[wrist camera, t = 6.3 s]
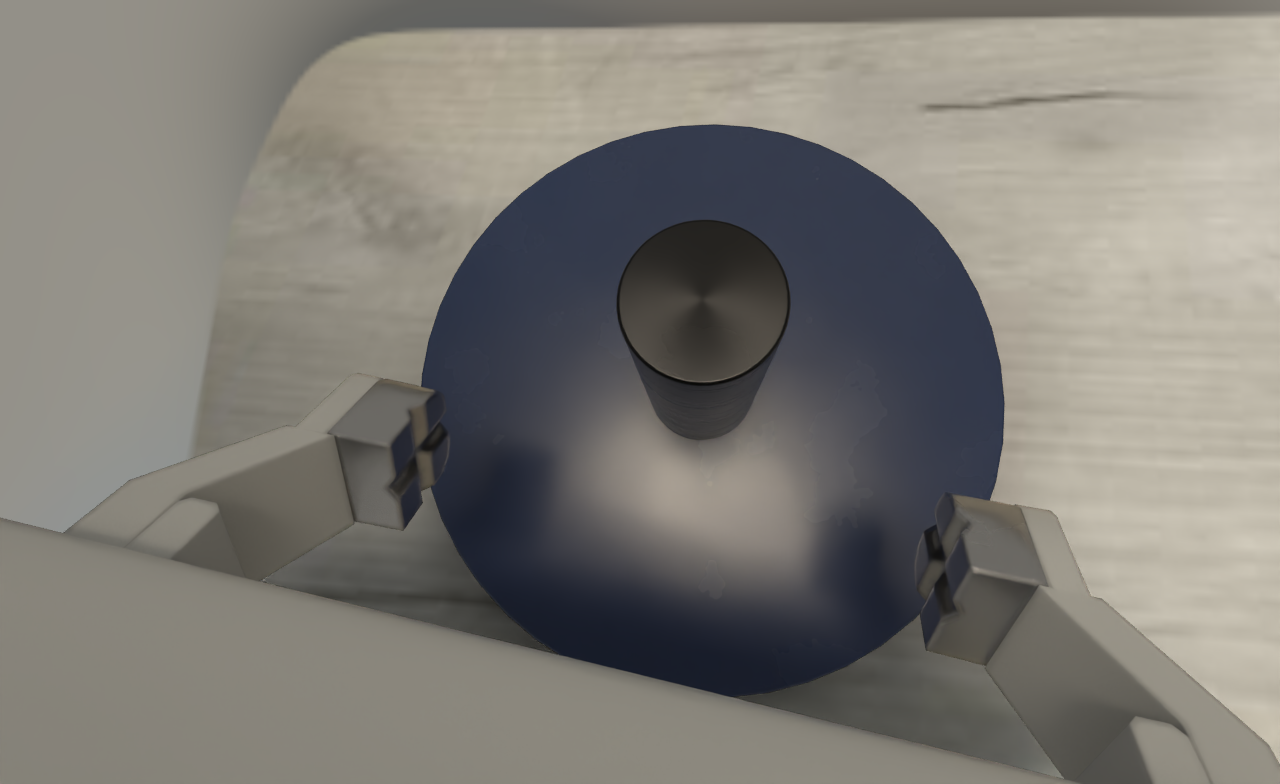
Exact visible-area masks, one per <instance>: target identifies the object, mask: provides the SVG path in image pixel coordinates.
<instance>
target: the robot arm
mask: <svg viewBox="0 0 1280 784" xmlns="http://www.w3.org/2000/svg"><path fill="white" fill-rule="evenodd" d="M445 413H446V404H445V397H444V395H443V394H442V393H441V392H440V391H439V390H434V389H430V388H425V387H421V386H417V385H412V384H408V383H403V382H399V381H394V380H390V379H383V378H379V377H374V376H370V375H365V374H360V373H357V374H353V375H350V376H349V377H347V378H346V379H345V380H344V381H343V382H342V383H341V384H340V385H339V386H338V387H337V388H336V389H335V390H334V391H333V392H332V393H331V394H329V395H328V396H327V397H326V398H325V399H324V400H323V401H322V402H321V403H320V404H319V405H318V406H317V407H316V408H315V409H314V410H313V411H311V412H310V413H309V414H308V415H307V416H306V417H305V418H304V419H303V420H302V421H301V422H300V423H299V424H298V425H297V426H296V427H292V426H287V425H286V426H283V427H280V428H277V429H274V430H272V431H269V432H266V433H263V434H260V435H257V436H254V437H252V438H249V439H246V440H243V441H240V442H237V443H234V444H231V445H229V446H226V447H223V448H220V449H217V450H214V451H211V452H209V453H206V454H203V455H200V456H197V457H194V458H191V459H189V460H186V461H183V462H180V463H177V464H174V465H171V466H169V467H166V468H163V469H160V470H157V471H154V472H151V473H148V474H146V475H143V476H140V477H137V478H134V479H131V480H129V481H128V482H126V483H125V484H124V485H123V486H121V487H120V488H119V489H118V490H116V491H115V492H114V493H113V494H111V495H110V496H109V497H108V498H106V499H105V500H104V501H103V502H101V503H100V504H99V505H98V506H96V507H95V508H94V509H93V510H91V511H90V512H89V513H88V514H86V515H85V516H84V517H83V518H82V519H80V520H79V521H78V522H76V523H75V524H74V525H72V526H71V527H70V528H69V529H67V530H66V531H65V532H64V533H60V532H56V531H52V530H47V529H44V528H40V527H36V526H32V525H28V524H23V523H19V522H15V521H11V520H7V519H3V518H0V784H1280V764H1279V762H1278V760H1277V759H1276V757H1275V755H1274V753H1273V751H1272V750H1271V748H1270V746H1269V745H1268V744H1267V743H1266V742H1265V741H1264V740H1263V739H1262V738H1260V737H1259V736H1258V735H1257V734H1256V733H1255V732H1254V731H1252V730H1251V729H1250V728H1249V727H1248V726H1247V725H1246V724H1245V723H1243V722H1242V721H1241V720H1240V719H1239V718H1238V717H1237V716H1235V715H1234V714H1233V713H1232V712H1231V711H1230V710H1229V709H1227V708H1226V707H1225V706H1224V705H1223V704H1222V703H1221V702H1219V701H1218V700H1217V699H1216V698H1215V697H1214V696H1213V695H1211V694H1210V693H1209V692H1208V691H1207V690H1206V689H1205V688H1203V687H1202V686H1201V685H1200V684H1199V683H1198V682H1197V681H1195V680H1194V679H1193V678H1192V677H1191V676H1190V675H1189V674H1187V673H1186V672H1185V671H1184V670H1183V669H1182V668H1181V667H1179V666H1178V665H1177V664H1176V663H1175V662H1174V661H1173V660H1171V659H1170V658H1169V657H1168V656H1167V655H1166V654H1165V653H1163V652H1162V651H1161V650H1160V649H1159V648H1158V647H1157V646H1155V645H1154V644H1153V643H1152V642H1151V641H1150V640H1149V639H1147V638H1146V637H1145V636H1144V635H1143V634H1142V633H1141V632H1139V631H1138V630H1137V629H1136V628H1135V627H1134V626H1133V625H1131V624H1130V623H1129V622H1128V621H1127V620H1126V619H1125V618H1123V617H1122V616H1121V615H1120V614H1119V613H1118V612H1117V611H1115V610H1114V609H1113V608H1112V607H1111V606H1110V605H1109V604H1107V603H1106V602H1105V601H1104V600H1103V599H1101V598H1096V597H1092V596H1091V595H1090V593H1089V591H1088V588H1087V586H1086V584H1085V581H1084V579H1083V577H1082V574H1081V572H1080V570H1079V567H1078V565H1077V563H1076V560H1075V558H1074V556H1073V553H1072V551H1071V549H1070V546H1069V544H1068V542H1067V539H1066V537H1065V535H1064V532H1063V530H1062V528H1061V525H1060V523H1059V521H1058V518H1057V516H1056V515H1055V514H1054V513H1052V512H1051V511H1049V510H1043V509H1038V508H1032V507H1026V506H1021V505H1010V504H1005V503H1000V502H995V501H990V500H984V499H979V498H974V497H969V496H964V495H959V494H954V493H948V492H945V493H944V494H943V495H942V496H941V497H940V499H939V501H938V503H937V505H936V507H935V509H934V514H935V519H936V525H934V526H932V527H930V528H928V529H926V530H925V531H924V532H923V535H922V537H921V539H920V542H919V544H918V547H917V552H916V557H915V562H914V578H915V585H916V590H917V591H918V592H919V593H920V595H921V596H922V597H923V598H924V599H925V600H926V602H925V604H924V606H923V608H922V610H921V612H920V618H921V624H922V630H923V636H924V642H925V648H926V651H929V652H933V653H937V654H941V655H945V656H949V657H953V658H957V659H961V660H965V661H969V662H972V663H976V664H980V665H984V666H986V667H985V670H986V671H987V673H988V674H989V675H990V677H991V678H992V679H993V681H994V682H995V684H996V685H997V686H998V688H999V689H1000V690H1001V692H1002V693H1003V695H1004V696H1005V697H1006V699H1007V700H1008V702H1009V703H1010V704H1011V706H1012V707H1013V708H1014V710H1015V711H1016V713H1017V714H1018V715H1019V717H1020V718H1021V720H1022V721H1023V722H1024V724H1025V725H1026V726H1027V728H1028V729H1029V731H1030V732H1031V733H1032V735H1033V736H1034V737H1035V739H1036V740H1037V742H1038V743H1039V744H1040V746H1041V747H1042V749H1043V750H1044V751H1045V753H1046V754H1047V755H1048V757H1049V758H1050V760H1051V761H1052V762H1053V764H1054V765H1055V767H1056V768H1057V769H1058V771H1059V772H1060V773H1061V775H1062V776H1063V778H1064V779H1062V778H1058V777H1054V776H1050V775H1046V774H1042V773H1038V772H1033V771H1029V770H1025V769H1021V768H1017V767H1013V766H1009V765H1005V764H1001V763H997V762H993V761H989V760H985V759H981V758H976V757H972V756H968V755H964V754H960V753H956V752H952V751H948V750H944V749H940V748H936V747H932V746H928V745H924V744H920V743H915V742H911V741H907V740H903V739H899V738H895V737H891V736H887V735H883V734H879V733H875V732H871V731H867V730H863V729H859V728H854V727H850V726H846V725H842V724H838V723H834V722H830V721H826V720H822V719H818V718H814V717H810V716H806V715H802V714H798V713H793V712H789V711H785V710H781V709H777V708H773V707H769V706H765V705H761V704H757V703H753V702H749V701H745V700H741V699H736V698H732V697H728V696H724V695H720V694H716V693H712V692H708V691H704V690H700V689H696V688H692V687H688V686H684V685H680V684H675V683H671V682H667V681H663V680H659V679H655V678H651V677H647V676H643V675H639V674H635V673H631V672H627V671H622V670H618V669H614V668H610V667H606V666H602V665H598V664H594V663H590V662H586V661H582V660H578V659H574V658H570V657H565V656H561V655H557V654H553V653H549V652H545V651H541V650H537V649H533V648H529V647H525V646H521V645H517V644H513V643H508V642H504V641H500V640H496V639H492V638H488V637H484V636H480V635H476V634H472V633H468V632H464V631H460V630H456V629H451V628H447V627H443V626H439V625H435V624H431V623H427V622H423V621H419V620H415V619H411V618H407V617H403V616H398V615H394V614H390V613H386V612H382V611H378V610H374V609H370V608H366V607H362V606H358V605H354V604H350V603H346V602H341V601H337V600H333V599H329V598H325V597H321V596H317V595H313V594H309V593H305V592H301V591H297V590H293V589H288V588H284V587H280V586H276V585H272V584H268V583H264V582H260V580H262V579H264V578H265V577H267V576H269V575H270V574H272V573H274V572H275V571H277V570H279V569H280V568H282V567H284V566H285V565H287V564H289V563H290V562H292V561H294V560H295V559H297V558H299V557H300V556H302V555H304V554H305V553H307V552H309V551H310V550H312V549H314V548H315V547H317V546H319V545H320V544H322V543H324V542H325V541H327V540H329V539H330V538H332V537H334V536H335V535H337V534H339V533H340V532H342V531H344V530H345V529H347V528H349V527H350V526H352V525H354V521H355V522H360V523H365V524H370V525H375V526H380V527H385V528H390V529H395V530H400V531H404V529H405V528H406V526H407V525H408V523H409V522H410V520H411V519H412V518H413V516H414V515H415V513H416V512H417V510H418V509H419V507H420V506H421V505H422V503H423V502H422V494H421V491H423V490H425V489H427V488H429V487H431V486H433V485H435V484H436V483H437V481H438V479H439V478H440V476H441V475H442V473H443V471H444V468H445V465H446V462H447V460H448V456H449V447H450V440H449V432H448V431H447V429H446V428H445V427H444V425H443V424H442V423H441V422H440V419H441V418H442V417H443V415H444V414H445Z"/></svg>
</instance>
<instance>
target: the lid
mask: <svg viewBox="0 0 1280 784" xmlns="http://www.w3.org/2000/svg"><path fill="white" fill-rule="evenodd" d="M421 387H425V388H430V389H434V390H439V391H440V392H441V393H442V394H443V395H444V397H445V404H446V413H445V414H444V415H443V417H442V418H441V419H440V422H441V423H442V424H443V425H444V427H445V428H446V429H447V431H448V432H449V440H450V447H449V456H448V460H447V462H446V465H445V468H444V471H443V473H442V475H441V476H440V478H439V479H438V481H437V483H436V484H435V485H433V486H431V490H432V492H433V495H434V498H435V501H436V504H437V507H438V510H439V513H440V516H441V519H442V521H443V523H444V525H445V527H446V529H447V531H448V533H449V535H450V537H451V539H452V541H453V543H454V545H455V547H456V549H457V551H458V553H459V555H460V556H461V558H462V559H463V561H464V562H465V564H466V565H467V566H468V568H469V569H470V571H471V572H472V574H473V575H474V577H475V578H476V580H477V581H478V583H479V584H480V585H481V587H482V588H483V589H484V590H485V591H486V592H487V593H488V594H489V596H490V597H491V598H492V599H493V600H494V601H495V602H496V603H497V605H498V606H499V607H500V608H501V609H502V610H503V611H504V612H505V614H507V615H508V616H509V617H510V618H511V619H512V620H514V621H515V622H516V623H517V624H518V625H519V626H521V627H522V628H523V629H524V630H525V631H526V632H528V633H529V634H530V635H531V636H532V637H533V638H535V639H536V640H537V641H539V642H540V643H542V644H543V645H545V646H547V647H548V648H550V649H551V650H553V651H554V652H556V653H557V654H559V655H561V656H565V657H570V658H574V659H578V660H582V661H586V662H590V663H594V664H598V665H602V666H606V667H610V668H614V669H618V670H622V671H627V672H631V673H635V674H639V675H643V676H647V677H651V678H655V679H659V680H663V681H667V682H671V683H675V684H680V685H684V686H688V687H692V688H696V689H700V690H704V691H708V692H712V693H716V694H720V695H724V696H728V697H739V696H747V695H756V694H765V693H770V692H774V691H778V690H782V689H786V688H790V687H793V686H797V685H801V684H805V683H808V682H811V681H813V680H816V679H818V678H820V677H823V676H825V675H828V674H830V673H832V672H835V671H837V670H840V669H842V668H844V667H847V666H848V665H850V664H852V663H853V662H855V661H857V660H858V659H860V658H862V657H863V656H865V655H867V654H868V653H870V652H872V651H874V650H875V649H877V648H879V647H880V646H882V645H883V644H884V643H886V642H887V641H888V640H889V639H891V638H892V637H893V636H894V635H896V634H897V633H898V632H899V631H901V630H902V629H903V628H904V627H905V626H907V625H908V624H909V623H910V622H912V621H913V620H914V619H915V618H916V617H917V616H918V615H919V614H920V612H921V610H922V608H923V606H924V604H925V602H926V600H925V599H924V598H923V597H922V596H921V595H920V593H919V592H918V591H917V590H916V585H915V578H914V562H915V557H916V552H917V547H918V544H919V542H920V539H921V537H922V535H923V532H924V531H925V530H926V529H928V528H930V527H932V526H934V525H936V519H935V514H934V509H935V507H936V505H937V503H938V501H939V499H940V497H941V496H942V495H943V494H944V493H945V492H948V493H954V494H959V495H964V496H969V497H974V498H979V499H984V500H990V498H991V495H992V492H993V489H994V486H995V483H996V478H997V473H998V467H999V462H1000V456H1001V451H1002V445H1003V428H1004V394H1003V384H1002V374H1001V364H1000V360H999V356H998V352H997V348H996V344H995V339H994V335H993V331H992V327H991V325H990V322H989V319H988V317H987V314H986V312H985V309H984V307H983V304H982V301H981V299H980V296H979V294H978V291H977V290H976V288H975V286H974V284H973V282H972V281H971V279H970V277H969V275H968V273H967V272H966V270H965V268H964V266H963V264H962V262H961V261H960V259H959V258H958V256H957V255H956V254H955V252H954V251H953V249H952V248H951V247H950V245H949V244H948V243H947V241H946V240H945V239H944V237H943V236H942V235H941V233H940V232H939V230H938V229H937V228H936V227H935V226H934V225H933V224H932V223H931V222H930V221H929V220H928V219H927V218H926V217H925V215H924V214H923V213H922V212H921V211H920V210H919V209H918V208H917V207H916V206H915V205H914V204H913V203H912V202H911V201H910V200H908V199H907V198H906V197H905V196H903V195H902V194H901V193H900V192H899V191H897V190H896V189H895V188H894V187H892V186H891V185H890V184H889V183H887V182H886V181H885V180H884V179H882V178H881V177H879V176H877V175H876V174H874V173H873V172H871V171H869V170H868V169H866V168H864V167H863V166H861V165H860V164H858V163H856V162H855V161H853V160H851V159H849V158H847V157H845V156H843V155H841V154H838V153H836V152H834V151H832V150H830V149H828V148H825V147H823V146H821V145H819V144H815V143H812V142H809V141H806V140H803V139H800V138H797V137H794V136H791V135H787V134H784V133H779V132H773V131H768V130H763V129H758V128H753V127H743V126H729V125H694V126H678V127H672V128H666V129H660V130H654V131H648V132H643V133H640V134H636V135H633V136H629V137H626V138H623V139H619V140H616V141H612V142H610V143H607V144H605V145H603V146H600V147H598V148H596V149H593V150H591V151H589V152H586V153H584V154H582V155H579V156H577V157H576V158H574V159H572V160H570V161H569V162H567V163H565V164H564V165H562V166H560V167H558V168H557V169H555V170H553V171H551V172H550V173H548V174H547V175H545V176H544V177H543V178H541V179H540V180H539V181H537V182H536V183H535V184H533V185H532V186H531V187H529V188H528V189H527V190H525V191H524V192H523V193H521V194H520V195H519V196H518V197H517V198H516V199H515V200H514V201H513V202H512V203H511V204H510V205H509V206H508V207H507V208H506V209H504V210H503V211H502V212H501V213H500V214H499V215H498V216H497V217H496V218H495V219H494V221H493V222H492V223H491V224H490V225H489V227H488V228H487V229H486V230H485V232H484V233H483V234H482V235H481V236H480V238H479V239H478V240H477V241H476V242H475V244H474V245H473V247H472V248H471V250H470V251H469V253H468V254H467V256H466V258H465V259H464V261H463V262H462V264H461V265H460V267H459V269H458V270H457V272H456V273H455V275H454V277H453V279H452V282H451V284H450V286H449V288H448V290H447V292H446V294H445V296H444V298H443V301H442V303H441V305H440V307H439V310H438V313H437V316H436V319H435V323H434V326H433V329H432V332H431V335H430V338H429V342H428V347H427V352H426V357H425V362H424V368H423V373H422V385H421Z"/></svg>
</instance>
